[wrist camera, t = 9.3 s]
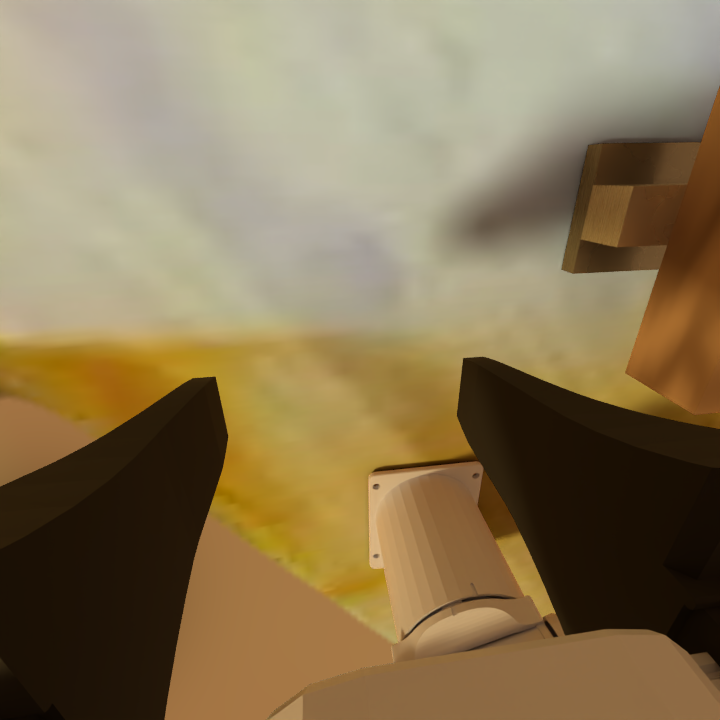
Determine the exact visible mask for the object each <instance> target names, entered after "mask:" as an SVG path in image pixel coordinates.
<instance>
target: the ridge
mask: <svg viewBox="0 0 720 720" xmlns="http://www.w3.org/2000/svg"><path fill="white" fill-rule="evenodd" d="M700 144H701V142H680V143H602V144H594V145H588V149H587V153H586V158H585V163H584V167H583V172H582V177H581V181H580V186H579V191H578V195H577V200H576V204H575V209H574V214H573V218H572V223H571V228H570V232H569V237H568V241H567V246H566V251H565V255H564V260H563V265H562V269H561V270H564V271H567V272H570V273H573V274H575V273H594V272H614V271H633V270H653V269H660V266H661V263H662V260H663V257H664V253H665V250H666V247H667V244H668V241H669V238H670V235H671V232H672V229H673V226H674V223H675V220H676V217H677V214H678V211H679V208H680V205H681V202H682V199H683V196H684V193H685V190H686V187H687V184H688V181H689V178H690V175H691V172H692V168H693V165H694V162H695V159H696V156H697V153H698V150H699V147H700Z"/></svg>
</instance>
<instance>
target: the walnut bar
mask: <svg viewBox="0 0 720 720" xmlns="http://www.w3.org/2000/svg"><path fill="white" fill-rule="evenodd" d="M625 373H626V374H628V375H629V376H631V377H633V378H634V379H636V380H638V381H639V382H641V383H643V384H644V385H646V386H648V387H649V388H651V389H652V390H654V391H656V392H657V393H659V394H661V395H662V396H664V397H666V398H667V399H669V400H670V401H672V402H674V403H675V404H677V405H679V406H680V407H682V408H684V409H685V410H687V411H688V412H690V413H692V414H693V415H699V414H709V413H719V412H720V87H719V90H718V93H717V96H716V99H715V102H714V105H713V108H712V111H711V114H710V117H709V120H708V123H707V126H706V129H705V132H704V135H703V138H702V141H701V144H700V147H699V150H698V153H697V156H696V159H695V162H694V165H693V168H692V172H691V175H690V178H689V181H688V184H687V187H686V190H685V193H684V196H683V199H682V202H681V205H680V208H679V211H678V214H677V217H676V220H675V223H674V226H673V229H672V232H671V235H670V238H669V241H668V244H667V247H666V250H665V253H664V257H663V260H662V263H661V266H660V269H659V272H658V275H657V278H656V281H655V284H654V287H653V290H652V293H651V296H650V299H649V302H648V305H647V308H646V311H645V314H644V317H643V320H642V323H641V326H640V329H639V332H638V335H637V338H636V342H635V345H634V348H633V351H632V354H631V357H630V360H629V363H628V366H627V369H626V372H625Z"/></svg>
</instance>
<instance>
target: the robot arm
mask: <svg viewBox="0 0 720 720" xmlns="http://www.w3.org/2000/svg"><path fill="white" fill-rule="evenodd" d="M457 417H458V420H459V422H460V425H461V427H462V430H463V432H464V434H465V436H466V439H467V441H468V443H469V445H470V446H471V448H472V450H473V452H474V453H475V455H476V457H477V458H478V460H479V462H477V461H475V462H465V463H456V464H446V465H437V466H427V467H417V468H408V469H398V470H389V471H379V472H373V473H371V474H370V475H369V478H368V491H369V562H370V567H372V568H374V569H377V568H384V572H385V577H386V582H387V587H388V593H389V598H390V603H391V608H392V613H393V618H394V623H395V629H396V634H397V639H398V643H396V644H394V645H392V646H391V650H392V655H393V661H394V663H391V664H385V665H379V666H372V667H366V668H361V669H358V670H355V671H352V672H348V673H345V674H342V675H338V676H335V677H332V678H329V679H326V680H322V681H319V682H316V683H313V684H310V685H308V686H307V687H305V688H304V689H303V690H301V691H300V692H299V693H297V694H296V695H295V696H294V697H292V698H290V699H289V700H288V701H286V702H285V703H284V704H282V705H281V706H280V707H278V708H277V709H276V710H274V712H273V713H272V714H271V715H270V716H269V717H268V718H267V720H720V429H716V428H710V427H704V426H699V425H693V424H688V423H683V422H678V421H674V420H669V419H665V418H661V417H656V416H652V415H648V414H643V413H639V412H636V411H632V410H628V409H624V408H621V407H618V406H614V405H611V404H607V403H604V402H601V401H597V400H594V399H591V398H588V397H585V396H582V395H580V394H577V393H574V392H572V391H569V390H566V389H564V388H561V387H558V386H556V385H553V384H551V383H548V382H546V381H543V380H541V379H538V378H536V377H534V376H531V375H529V374H527V373H524V372H522V371H520V370H517V369H515V368H512V367H510V366H508V365H505V364H503V363H500V362H498V361H495V360H492V359H489V358H486V357H474V358H463V366H462V374H461V383H460V392H459V401H458V410H457ZM227 441H228V433H227V428H226V424H225V419H224V414H223V410H222V405H221V400H220V396H219V391H218V386H217V382H216V377H205V378H193V379H191V380H189V381H187V382H185V383H184V384H182V385H181V386H179V387H178V388H176V389H175V390H173V391H172V392H170V393H169V394H167V395H166V396H164V397H163V398H161V399H160V400H158V401H157V402H156V403H154V404H153V405H151V406H150V407H148V408H147V409H145V410H144V411H142V412H141V413H139V414H138V415H136V416H135V417H133V418H131V419H130V420H128V421H127V422H125V423H123V424H122V425H120V426H119V427H117V428H115V429H114V430H112V431H111V432H109V433H108V434H106V435H104V436H102V437H101V438H99V439H97V440H96V441H94V442H92V443H90V444H88V445H87V446H85V447H83V448H81V449H79V450H77V451H75V452H73V453H71V454H69V455H68V456H66V457H64V458H62V459H60V460H58V461H56V462H54V463H52V464H49V465H47V466H45V467H43V468H41V469H38V470H36V471H34V472H32V473H29V474H27V475H25V476H23V477H21V478H19V479H16V480H14V481H12V482H10V483H7V484H5V485H3V486H1V487H0V720H164V718H165V711H166V705H167V698H168V692H169V686H170V680H171V674H172V668H173V663H174V657H175V651H176V645H177V640H178V634H179V629H180V624H181V619H182V614H183V608H184V604H185V598H186V593H187V589H188V584H189V579H190V575H191V570H192V565H193V560H194V557H195V553H196V549H197V546H198V542H199V539H200V536H201V533H202V530H203V527H204V524H205V520H206V518H207V515H208V512H209V509H210V506H211V503H212V499H213V496H214V493H215V490H216V487H217V484H218V481H219V478H220V475H221V472H222V468H223V464H224V459H225V453H226V447H227ZM483 468H484V470H485V471H486V473H487V475H488V476H489V478H490V479H491V481H492V483H493V484H494V486H495V487H496V489H497V491H498V492H499V494H500V496H501V497H502V499H503V500H504V502H505V504H506V506H507V507H508V509H509V511H510V513H511V515H512V516H513V518H514V520H515V522H516V525H517V527H518V529H519V531H520V533H521V535H522V537H523V539H524V541H525V543H526V546H527V548H528V550H529V552H530V554H531V556H532V559H533V561H534V563H535V565H536V568H537V570H538V572H539V574H540V577H541V579H542V581H543V583H544V586H545V588H546V591H547V593H548V595H549V598H550V600H551V603H552V605H553V608H554V610H555V612H556V614H554V613H551V614H549V615H546V616H544V617H543V619H542V617H541V615H540V614H539V612H538V610H537V608H536V606H535V604H534V602H533V600H532V599H531V597H530V596H525V597H524V595H523V593H522V591H521V589H520V587H519V585H518V583H517V581H516V579H515V577H514V576H513V574H512V572H511V570H510V568H509V566H508V564H507V562H506V560H505V558H504V556H503V554H502V552H501V551H500V549H499V547H498V545H497V543H496V541H495V539H494V537H493V535H492V533H491V531H490V529H489V527H488V526H487V524H486V522H485V520H484V518H483V516H482V514H481V512H480V510H479V508H478V506H477V505H478V499H479V493H480V487H481V481H482V474H483ZM475 473H476V474H475ZM473 474H474V475H473ZM374 484H378V485H376V486H375V485H374Z"/></svg>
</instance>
